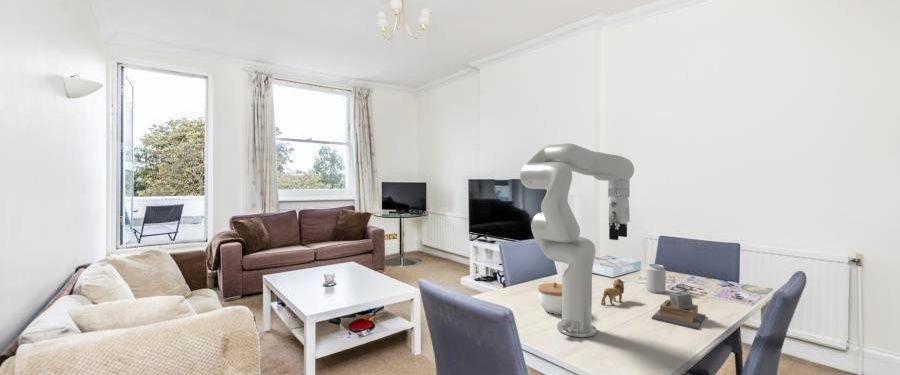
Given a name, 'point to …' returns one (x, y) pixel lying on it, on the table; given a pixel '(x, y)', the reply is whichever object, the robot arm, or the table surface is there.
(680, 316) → the base
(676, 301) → the grey cube
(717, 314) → the table surface
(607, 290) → the lion figurine
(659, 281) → the can
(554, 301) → the lidded bowl
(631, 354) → the table surface
